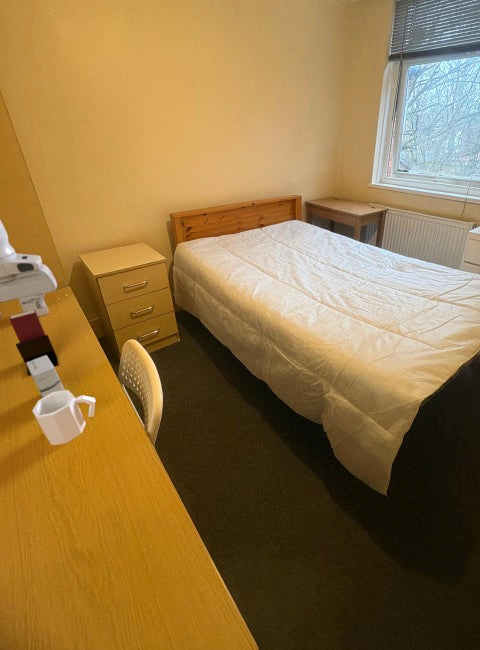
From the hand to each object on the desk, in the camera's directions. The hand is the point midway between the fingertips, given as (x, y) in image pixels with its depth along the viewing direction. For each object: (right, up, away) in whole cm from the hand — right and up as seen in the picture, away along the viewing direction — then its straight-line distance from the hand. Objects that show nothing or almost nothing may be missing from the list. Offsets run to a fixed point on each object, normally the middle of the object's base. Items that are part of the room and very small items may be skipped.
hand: (20, 312), depth 88 cm
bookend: (-6, -18, +15) cm, 24 cm away
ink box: (+7, -25, +4) cm, 26 cm away
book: (-10, -9, +16) cm, 21 cm away
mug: (+19, -29, -5) cm, 35 cm away
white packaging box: (-30, -4, +42) cm, 52 cm away
